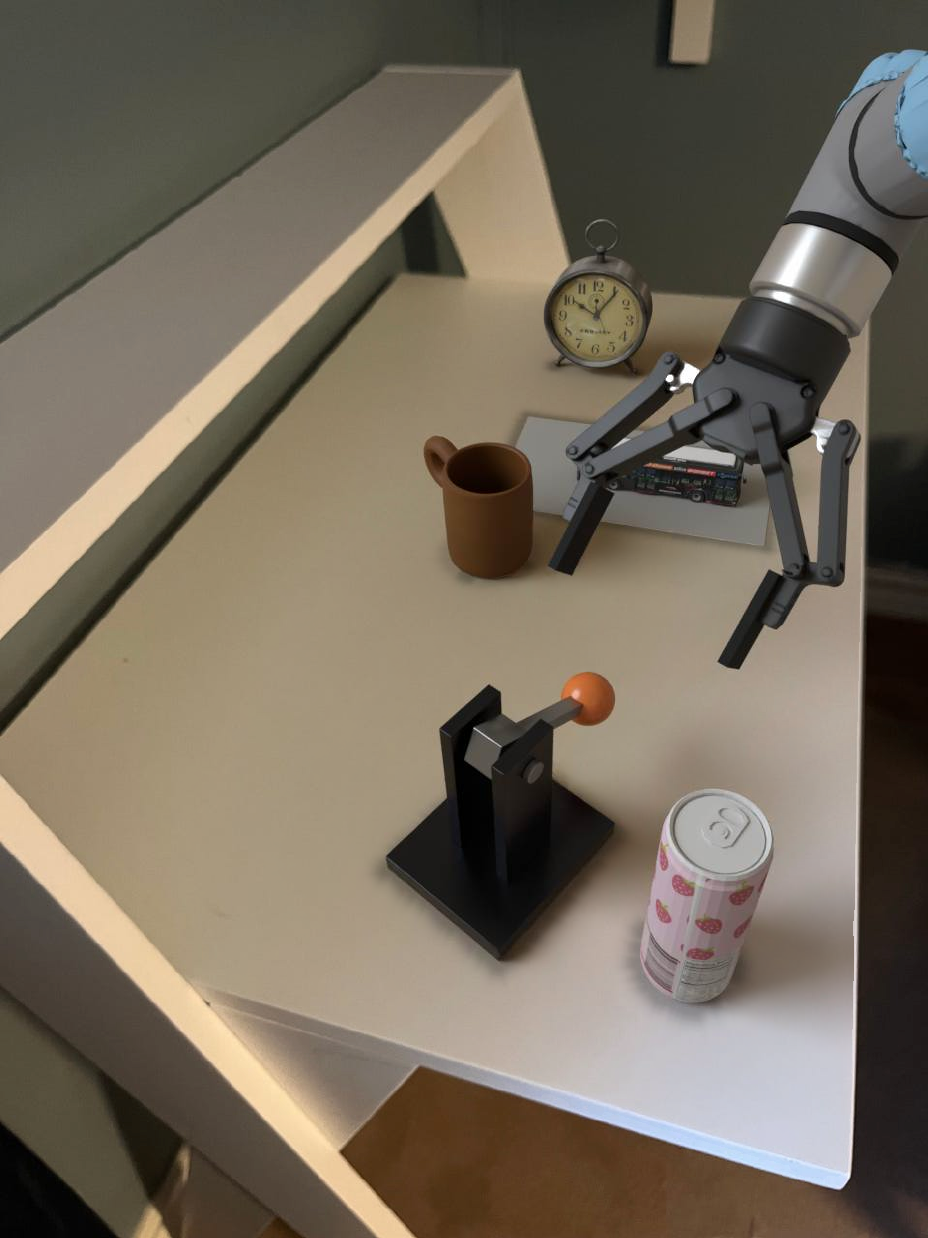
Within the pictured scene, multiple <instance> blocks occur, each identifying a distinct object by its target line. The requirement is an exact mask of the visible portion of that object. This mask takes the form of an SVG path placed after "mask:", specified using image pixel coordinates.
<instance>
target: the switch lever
mask: <svg viewBox="0 0 928 1238" xmlns="http://www.w3.org/2000/svg"><path fill="white" fill-rule="evenodd" d="M615 704H616V694H615V690H614V688H613V686H612V684H611V683H610V681H609V680H608V679H607V678H606V677H605V676H603V675H601V674H600V673H597V672H594V671H583V672H579V673H577V674H574V675H572V676H571V677H570V678H568V680H567V681H566V682H565V683H564V685H563V688H562V689H561V693H560V700H559V701H556V702H555V703H553V704H550V705H549V706H547V707H545V708H543V709H541V710H539V711H537V712H535V713H532V714H530V715H529V716H527V717H525V718H523V719H520V720H519V721H517V722H515V720H513V719H511V718H509V716H507V715H505V714H504V713H502V714H500V715H498V716H496V717H494V718H492V719H490V720H488V721H486V722H484V723H482V724H480V725H477V726H475V727H474V728H473V731H472V734H471V738H470V741H469V744H468V748H467V751H466V754H465V758H464V760H465V761H466V762H468V763H469V764H470V765H472V766H473V767H475V768H476V769H477V770H479V771H480V772H481V773H483V774H484V775H486V776H487V777H488V778H490V779H492V775H491V766H492V765H493V764H494V763H495V762H496V761H497V760H498V759H499V758H500V757H501V756H502V755H503V754H504V753H505V752H506V751H507V750H508V749H509V748H510V747H511V746H512V745H513V744H514V743H515V742H516V741H518V740H519V739H520V738H521V737H522V736H523V735H524V734H525V733H526V732H527V731H528V730H529V729H530V728H531V727H532V726H533V725H534V724H535V723H536V722H537V721H538V720H539V719H543V720H544V721H546V722H547V723H549V724H550V725H552V726H553V727H554V730H555V729H557V728H559V727H561V726H563V725H565V724H567V723H568V722H573V723H575V724H577V725H579V726H583V727H594V726H597V725H600V724H602V723H603V722H606V720H607V719H608V718H609V717H610V716H611V714H612V713H613V712H614V710H615V709H614V708H615V706H616V705H615Z"/></svg>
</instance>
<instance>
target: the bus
mask: <svg viewBox="0 0 928 1238" xmlns="http://www.w3.org/2000/svg"><path fill="white" fill-rule="evenodd" d="M591 425H592V424H591V423H590V424H589V423H581V422H575V421H574V422H573V421H566V420H559V419H551V418H544V417H535V416H530V415H529V416H527V418H526V421H525V423H524V426H523V428H522V429H521V432H520V435H519V437H518V439H517V442H516V444H515V446H514V447H515V448H516V449H518V450H520V451H521V452H523V453H524V454H525V455H526V457H527V458H528V460H529V461H530V464H531V468H532V479H533V512H538V513H545V514H550V515H551V514H552V515H557V516H558V515H559V516H563V511H564V509H565V507H566V505H567V503H568V501H569V499H570V498H571V495H572V493H573V491H574V489H575V487H576V485H577V483H578V481H579V479H580V470H579V468H578V467H577V466H576V465H575V464H574V462H573V461H572V460H571V459H569V458H568V457H567V456H566V448H567V446H568V445H569V444H570V443H571V442H572V441H573V440H575V439H576V438H577V437H578V436H579V435H580V434H582V433H583V432H584V431H585V430H586V429H588V428H589V427H590V426H591ZM644 432H646V431H644V430H637V429H635V430H633V431H632V432H631V433H630V434H629V435H627V436H626V437H625V438H624V439H623V440H621V441H620V442H619V443H618V444H617V445H615V446H614V447H613V448H615V447H617V446H619V445H621V444H623V443H624V442H626V441H628V440H630V439H632V438H634V437H636V436H638V435H640V434H642V433H644ZM613 448H612V449H613ZM610 450H611V449H610ZM608 485H610V487H604V488H605V489H607V490H609V491H611V492H613V493H615V494H614V496H613V498H612V500H611V502H610V504H609V506H608V508H607V509H606V511H605V513H604V515H603V517H602V519H601V521H600V522H603V523H610V524H617V525H623V526H631V527H636V528H641V529H650V530H656V531H662V532H668V533H669V532H670V533H675V534H680V535H681V534H682V535H689V536H694V537H695V536H696V537H702V538H708V539H716V540H722V541H727V542H735V543H742V544H749V545H754V546H761V547H765V544H766V537H767V529H768V520H769V512H770V507H771V505H770V500H769V495H768V491H767V486H766V481H765V477H764V474H763V471H762V469H761V465H760V464H753V465H752V466H751V465H749V464H747V463H744V462H742V461H741V460H740V459H739V458H737V457H736V456H735V455H734V454H731V453H723V452H719V451H717V450H715V449H713V448H711V447H709V446H708V445H707V444H706V443H705V442H703V441H702V440H701V441H699V442H697V443H695V444H692V445H685V446H683V447H681V448H679V449H677V450H675V451H673V452H671V453H669V454H667V455H665V456H663V457H661V458H659V459H657V460H655V461H653V462H651V463H649V464H647V465H645V466H643V467H641V468H639V469H637V470H635V471H632V472H630V473H628V474H626V475H624V476H622V477H620V478H618V479H616V480H614V481H612V482H610V483H609V484H608Z"/></svg>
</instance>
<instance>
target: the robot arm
mask: <svg viewBox="0 0 928 1238" xmlns="http://www.w3.org/2000/svg"><path fill="white" fill-rule="evenodd" d="M833 121H834V122H833V124H832V127H831V129H830V130H829V133H828V134H827V136H826V138H825V140H824V143H823V145H822V147H821V148H820V150H819V153H818V154H817V157H816V158H815V160H814V162H813V164H812V166H811V168H810V170H809V173H808V174H807V176H806V178H805V180H804V182H803V183H802V185H801V187H800V189H799V191H798V193H797V195H796V197H795V199H794V200H793V203H792V205H791V207H790V209H789V211H788V213H787V215H786V216H785V219H784V220H783V222H782V224H781V226H780V228H779V230H778V232H777V233H776V235H775V237H774V239H773V240H772V242H771V244H770V246H769V248H768V249H767V251H766V253H765V255H764V257H763V258H762V260H761V263H760V264H759V266H758V268H757V270H756V271H755V273H754V275H753V277H752V279H751V281H750V282H749V287H748V288H749V291H750V294H751V295H752V296H748V297H747V298H745V299H743V300H741V301H740V303H739V304H738V306H737V308H736V310H735V312H734V314H733V315H732V318H731V319H730V322H729V324H728V325H727V327H726V329H725V331H724V333H723V334H722V336H721V338H720V340H719V342H718V345H717V347H716V349H715V352H714V355H713V357H712V359H711V360H710V362H709V363H708V364H707V365H706V366H704V367H703V368H702V369H699V368H697V367H695V366H693V365H692V364H689V363H688V362H686V361H684V359H683V358H681V356H679V354H677V353H676V352H675V351H673V350H667V351H665V352H663V353H662V354H661V356H660V357H659V359H658V361H657V362H656V364H655V365H654V367H653V368H652V370H651V372H650V373H649V375H648V376H647V377H646V378H645V379H644V380H643V381H642V382H640V384H638V385H637V386H636V387H635V388H634V389H632V390H631V391H630V392H628V394H626V395H625V396H624V397H623V398H622V399H620V400H619V401H618V402H617V403H616V404H615V405H613V406H612V407H611V408H610V409H609V410H607V411H606V412H605V413H604V414H603V415H601V416H600V417H599V418H598V419H597V420H595V421H594V422H593V423H592V424H591V426H590V427H589V428H588V429H586V430H585V431H584V432H583V433H582V434H580V435H579V436H578V437H577V438H576V439H575V440H573V441H572V442H571V443H570V444H569V445H568V446H567V448H566V456H567V457H568V458H569V459H571V460H572V461H573V462H574V464H575V465H576V466H577V467H578V468H579V470H580V479H579V481H578V483H577V485H576V487H575V489H574V491H573V493H572V495H571V498H570V499H569V501H568V503H567V505H566V507H565V509H564V511H563V515H562V519H563V520H565V521H567V522H569V523H568V525H567V526H566V529H565V530H564V532H563V533H562V536H561V539H560V540H559V542H558V544H557V545H556V548H555V550H554V551H553V554H552V556H551V557H550V558H549V559H550V560H549V561H548V563H547V564H546V567H548V568H550V569H551V570H554V571H555V572H558V573H562V574H565V575H567V576H571V577H572V576H573V575H574V573H575V571H576V570H577V567H578V565H579V563H580V562H581V560H582V557H583V556H584V554H585V552H586V550H587V548H588V546H589V544H590V542H591V540H592V538H593V536H594V535H595V533H596V531H597V529H598V526H599V525H600V523H601V522H602V521H601V519H602V517H603V515H604V513H605V511H606V509H607V508H608V506H609V504H610V502H611V500H612V498H613V496H614V494H615V493H613V492H611V491H609V490H607V489H605V488H604V487H610V485H608V484H609V483H610V482H612V481H614V480H616V479H618V478H620V477H622V476H624V475H626V474H628V473H630V472H632V471H635V470H637V469H639V468H641V467H643V466H645V465H647V464H649V463H651V462H653V461H655V460H657V459H659V458H661V457H663V456H665V455H667V454H669V453H671V452H673V451H675V450H677V449H679V448H681V447H683V446H685V445H692V444H695V443H697V442H699V441H701V440H702V441H703V442H705V443H706V444H707V445H708V446H709V447H711V448H713V449H715V450H717V451H719V452H723V453H731V454H734V455H735V456H736V457H737V458H739V459H740V460H741V461H742V462H744V463H747V464H749V465H751V466H752V465H753V464H760V465H761V469H762V471H763V474H764V477H765V481H766V486H767V491H768V495H769V500H770V509H771V515H772V519H773V524H774V529H775V534H776V539H777V543H778V544H777V545H778V548H779V552H780V557H781V563H782V567H783V569H781V572H782V574H780V573H778V572H777V571H774V570H772V569H770V568H769V569H767V571H766V573H765V575H764V577H763V579H762V581H761V582H760V584H759V586H758V588H757V590H756V591H755V593H754V595H753V597H752V598H751V600H750V601H749V604H748V606H747V607H746V609H745V611H744V613H743V615H742V616H741V618H740V620H739V622H738V623H737V624H736V627H735V629H734V630H733V632H732V633H731V636H730V638H729V639H728V641H727V643H726V645H725V647H724V648H723V650H722V652H721V654H720V656H719V657H718V659H717V661H716V662H717V663H718V664H720V665H721V666H724V667H725V668H727V669H732V670H733V669H734V670H739V671H740V670H741V667H742V666H743V664H744V663H745V660H746V658H748V655H749V654H750V652H751V650H752V648H753V647H754V645H755V643H756V641H757V639H758V637H759V636H760V634H761V632H762V630H763V628H764V627H765V626H766V627H768V628H770V629H773V630H779V629H780V628H781V627H782V626H783V625H784V624H785V622H786V620H787V619H788V617H789V615H790V613H791V612H792V610H793V608H794V606H795V604H796V603H797V601H798V599H799V598H800V596H801V594H802V592H803V591H804V590H805V589H806V588H807V587H809V586H812V585H817V586H825V587H830V588H837V587H841V586H842V584H843V583H844V582H845V579H846V563H847V562H846V561H847V560H846V557H847V536H848V535H847V534H848V515H849V513H848V512H849V511H848V509H849V487H850V486H849V485H850V467H851V465H852V463H853V460H854V458H855V455H856V453H857V450H858V448H859V447H860V444H861V440H862V436H861V433H860V431H859V430H858V429H857V427H856V425H855V424H854V422H853V421H852V420H849V419H847V418H846V419H840V420H838V421H835V420H831V419H827V418H824V417H819V415H820V409H821V407H822V405H823V402H824V401H825V399H826V398H827V396H828V394H829V392H830V390H831V388H833V387H832V386H833V385H834V383H835V381H836V379H837V378H838V376H839V374H840V373H841V371H842V369H843V367H844V365H845V363H846V361H847V360H848V358H849V356H850V354H851V353H852V349H851V343H850V341H849V340H850V339H853V338H856V337H859V336H860V335H861V333H862V331H863V329H864V328H865V326H866V323H867V322H868V320H869V318H870V317H871V316H872V313H873V312H874V310H875V308H876V306H877V304H878V303H879V301H880V299H881V298H882V296H883V294H884V293H885V291H886V288H887V287H888V285H889V283H890V281H891V280H892V277H893V276H894V274H895V272H896V270H897V268H898V266H899V264H900V262H901V261H902V259H903V257H904V255H905V253H906V252H907V250H908V248H909V247H910V245H911V243H912V242H913V239H914V238H915V236H916V234H917V233H918V231H919V229H920V228H921V226H922V225H923V224H922V223H924V221H925V220H926V219H927V218H928V50H927V51H926V50H920V49H904V50H902V51H900V52H899V53H898V52H893V51H892V52H885V53H884V54H881V55H880V56H878V57H876V58H875V59H873V60H872V61H871V62H870V63H869V65H867V67H865V69H864V70H863V71H862V74H861V75H860V77H859V78H858V81H857V82H856V84H855V85H854V87H853V89H852V91H851V92H850V94H849V95H848V97H847V99H845V100H843V102H842V103H841V104H840V107H839V108H838V110H837V112H836V114H835V116H834V120H833ZM688 388H692V399H693V404H691V405H688V406H687V407H685V408H682V409H681V410H679V411H677V412H675V413H673V414H671V415H670V416H669V417H668V419H666V421H664V422H662V423H659V424H657V425H656V426H654V427H652V428H649V429H648V430H646V431H645V432H644V433H642V434H640V435H638V436H636V437H634V438H632V439H630V440H628V441H626V442H624V443H623V444H621V445H619V446H617V447H615V448H613V447H614V446H615V445H617V444H618V443H619V442H620V441H621V440H623V439H624V438H625V437H626V436H627V435H629V434H630V433H631V432H632V431H633V430H637V428H638V427H640V426H641V425H643V423H645V421H647V420H648V419H649V418H651V417H652V416H653V415H654V414H655V413H656V412H658V411H659V410H660V409H661V408H662V407H664V406H665V405H666V404H667V403H668V402H669V401H670V400H671V399H672V398H673V397H674V396H675V395H680V394H683V393H684V392H685V391H686V389H688ZM811 437H815V438H816V445H815V446H816V450H817V451H818V453H819V454H820V455H821V456H822V457H821V465H820V482H819V483H820V484H819V503H818V504H819V505H818V508H819V509H818V528H817V531H818V532H817V549H816V550H817V553H816V561H811V558H810V553H809V548H808V545H807V544H808V543H807V538H806V533H805V530H804V525H803V521H802V517H801V516H802V515H801V512H800V506H799V502H798V498H797V492H796V488H795V482H794V472H793V467H792V462H791V458H790V453H789V450H791V449H792V448H794V447H796V446H798V445H800V444H801V443H804V442H805V441H807V440H809V439H811ZM612 448H613V449H612ZM610 449H611V450H610Z"/></svg>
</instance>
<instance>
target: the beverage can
mask: <svg viewBox="0 0 928 1238" xmlns="http://www.w3.org/2000/svg"><path fill="white" fill-rule="evenodd" d="M774 842H775V839H774V833H773V829H772V826H771V824H770V821H769V820H768V818H767V817H766V815H765V814H764V813H763V811H762V810H761V809H760V808H759V807H758V806H757V805H756V804H755V803H754V802H752V801H751V800H749V799H748V798H747V797H745V796H743V795H741V794H738V793H736V792H733V791H730V790H727V789H722V788H703V789H699V790H695V791H693V792H692V791H691V792H690V793H688V794H686V795H684V796H683V797H681V798H679V800H677V801H676V802H675V804H674V805H673V806H672V808H671V809H670V811H669V813H668V814H667V816H666V818H665V821H664V823H663V825H662V830H661V836H660V841H659V845H658V852H657V857H656V862H655V868H654V872H653V876H652V877H653V878H652V883H651V889H650V894H649V899H648V902H647V903H648V904H647V909H646V915H645V918H644V919H645V920H644V923H643V924H644V925H643V931H642V935H641V941H640V947H639V956H640V957H639V959H640V963H641V966H642V970H643V972H644V974H645V975H646V977H647V979H648V980H649V981H650V982H651V984H652V985H653V986H654V987H655V988H656V989H657V990H658V991H659V992H661V993H662V994H664V995H666V996H667V997H669V998H671V999H673V1000H677V1001H678V1002H683V1003H690V1004H693V1003H703V1002H707V1001H711V1000H712V999H713V998H716V997H718V996H719V995H721V993H723V992H724V991H725V990H726V989H727V987H728V986H729V984H730V982H731V980H732V977H733V975H734V972H735V970H736V966H737V963H738V960H739V957H740V955H741V953H742V949H743V947H744V943H745V941H746V937H747V935H748V932H749V929H750V926H751V923H752V920H753V917H754V914H755V911H756V909H757V906H758V904H759V900H760V898H761V894H762V891H763V889H764V886H765V883H766V880H767V877H768V875H769V871H770V868H771V866H772V863H773V860H774V852H775V851H774V850H775V847H774V845H775V843H774Z"/></svg>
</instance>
